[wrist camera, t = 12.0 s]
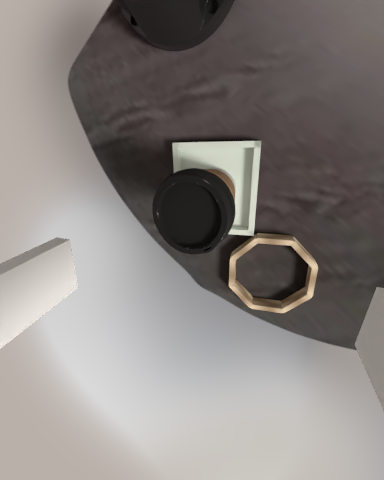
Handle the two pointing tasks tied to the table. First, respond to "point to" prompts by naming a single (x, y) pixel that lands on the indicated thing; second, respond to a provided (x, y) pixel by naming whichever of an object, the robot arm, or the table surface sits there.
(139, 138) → the table surface
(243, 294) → the holder ring
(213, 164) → the tray
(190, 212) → the coffee cup
